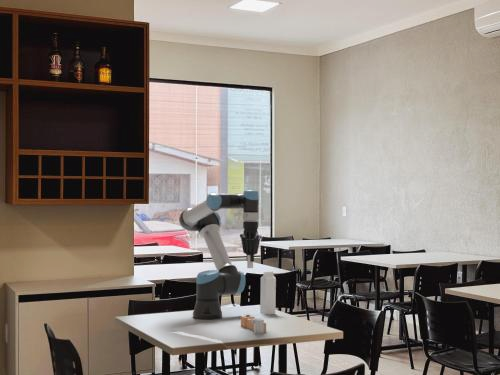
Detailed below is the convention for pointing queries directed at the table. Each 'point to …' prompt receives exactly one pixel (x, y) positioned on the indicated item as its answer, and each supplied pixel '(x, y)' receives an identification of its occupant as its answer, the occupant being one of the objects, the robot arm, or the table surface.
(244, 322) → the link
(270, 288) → the milk
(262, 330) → the cylinder
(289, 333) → the table surface
